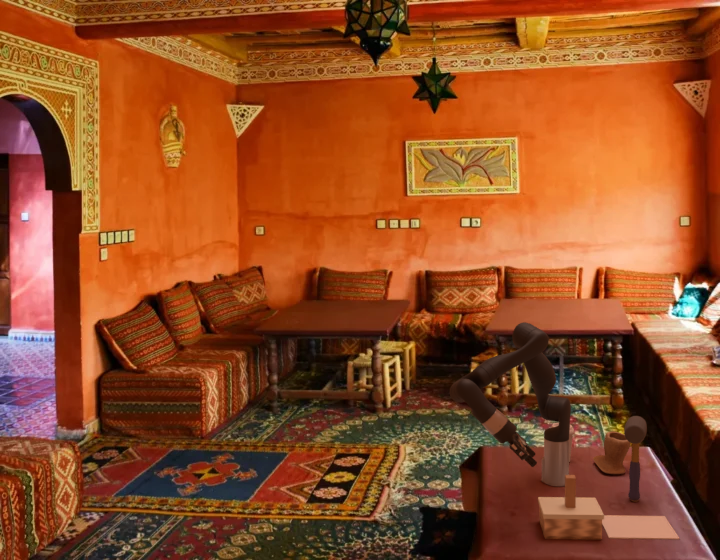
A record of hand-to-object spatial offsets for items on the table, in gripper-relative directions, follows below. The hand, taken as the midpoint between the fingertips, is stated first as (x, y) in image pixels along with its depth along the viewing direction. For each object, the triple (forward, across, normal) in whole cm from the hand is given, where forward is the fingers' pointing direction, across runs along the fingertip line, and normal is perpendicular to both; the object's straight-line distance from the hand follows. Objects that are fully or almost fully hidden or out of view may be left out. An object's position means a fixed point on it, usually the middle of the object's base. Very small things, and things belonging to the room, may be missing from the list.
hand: (534, 460), depth 269 cm
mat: (+40, +4, -7) cm, 41 cm away
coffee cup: (+27, +65, +6) cm, 71 cm away
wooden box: (+25, 0, +8) cm, 26 cm away
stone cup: (+40, +58, -7) cm, 71 cm away
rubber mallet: (+43, +27, -9) cm, 51 cm away
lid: (+20, 0, +4) cm, 20 cm away
